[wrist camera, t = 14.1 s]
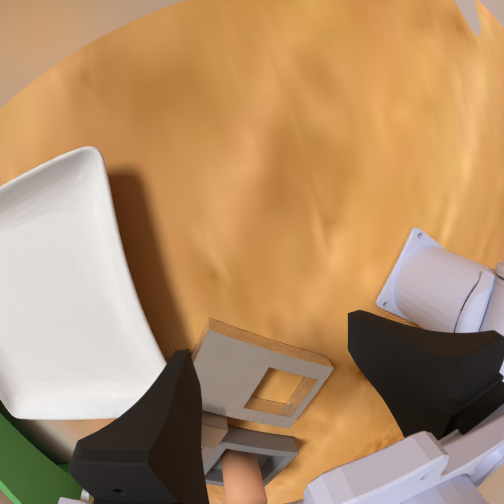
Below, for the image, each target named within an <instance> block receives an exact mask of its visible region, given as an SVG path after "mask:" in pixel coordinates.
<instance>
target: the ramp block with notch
mask: <svg viewBox="0 0 504 504" xmlns="http://www.w3.org/2000/svg"><path fill="white" fill-rule="evenodd" d="M69 465H70V463H67V464H61V465H56V464H55V463H53V462H52V461H51V460H50V459H49V458H47V457H46V456H45V455H44V454H43V453H41V452H40V451H39V450H38V449H37V448H36V447H35V446H33V445H32V444H31V443H30V442H29V441H28V440H27V439H26V438H25V437H24V436H23V435H22V434H21V433H20V432H19V431H18V430H17V429H16V428H15V427H14V426H13V425H12V424H11V423H10V422H9V421H8V420H7V419H6V418H5V417H4V416H3V415H2V414H1V413H0V489H1V490H2V491H3V492H4V493H5V494H6V496H7V497H8V498H9V499H10V500H11V501H12V502H13V503H14V504H58V502H59V499H60V497H64V498H69V499H74V500H79V501H80V497H81V492H82V487H81V486H80V485H79V484H78V483H77V482H76V481H75V479H74V478H73V477H72V476H71V474H70V471H69Z"/></svg>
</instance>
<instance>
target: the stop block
mask: <svg viewBox="0 0 504 504" xmlns="http://www.w3.org/2000/svg"><path fill="white" fill-rule="evenodd" d="M227 432H228V426H227V418H226V416H224V415H220V414H216V413H212V412H208V411H204V410H202V433H201V446H204V447H209V448H214V449H216V447H217V446H218V445H219V443H220V442H221V440H222V439H223V438H224V436H225V435H226V433H227Z"/></svg>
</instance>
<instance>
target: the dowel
mask: <svg viewBox="0 0 504 504" xmlns="http://www.w3.org/2000/svg"><path fill="white" fill-rule="evenodd" d="M221 464H222V473H223V482H224V490H225V497H226V504H267V497H266V493H265V489H264V485H263V481H262V476H261V472H260V468H259V463H258V459H257V454H256V453H250V452H244V451H238V450H232V449H225V451H224V452H223V453H222V455H221Z"/></svg>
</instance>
